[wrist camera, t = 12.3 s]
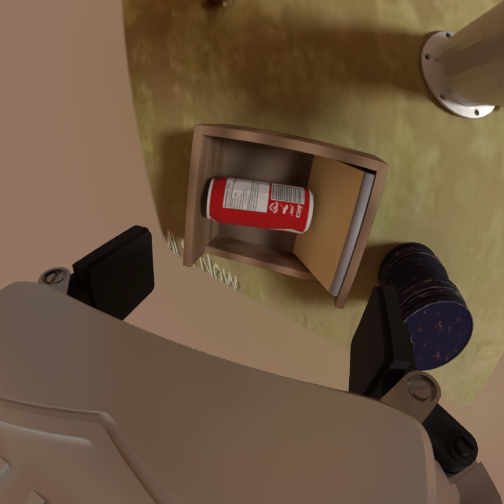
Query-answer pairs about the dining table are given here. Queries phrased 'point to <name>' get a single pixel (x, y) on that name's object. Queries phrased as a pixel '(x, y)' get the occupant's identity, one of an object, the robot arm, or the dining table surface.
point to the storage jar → (427, 304)
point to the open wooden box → (267, 170)
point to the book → (333, 219)
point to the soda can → (260, 204)
